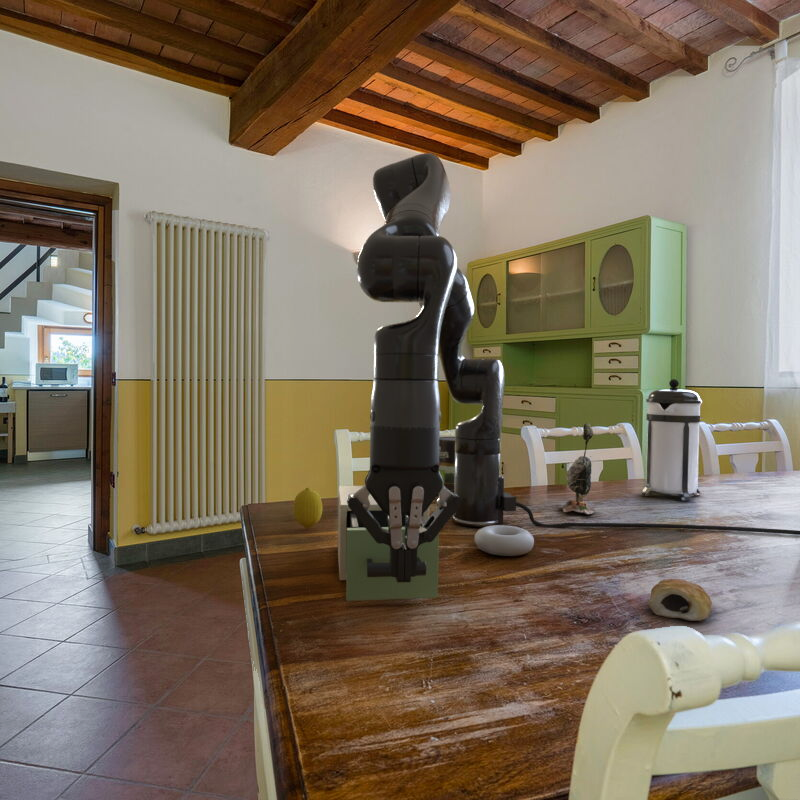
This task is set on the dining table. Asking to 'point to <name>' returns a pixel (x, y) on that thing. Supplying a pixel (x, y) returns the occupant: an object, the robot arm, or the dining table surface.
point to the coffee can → (447, 461)
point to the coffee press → (673, 442)
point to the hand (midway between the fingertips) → (402, 579)
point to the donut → (504, 540)
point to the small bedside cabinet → (344, 523)
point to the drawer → (386, 565)
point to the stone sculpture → (580, 479)
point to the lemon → (307, 508)
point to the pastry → (680, 600)
